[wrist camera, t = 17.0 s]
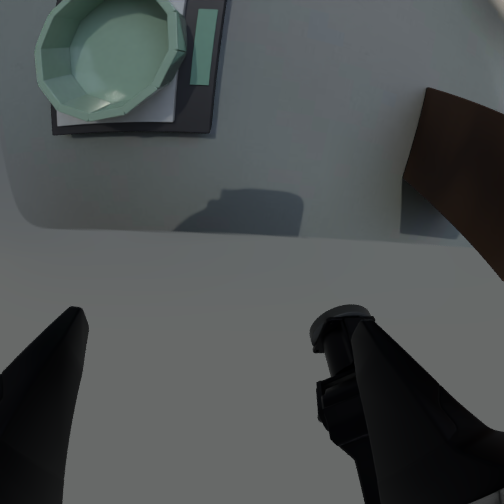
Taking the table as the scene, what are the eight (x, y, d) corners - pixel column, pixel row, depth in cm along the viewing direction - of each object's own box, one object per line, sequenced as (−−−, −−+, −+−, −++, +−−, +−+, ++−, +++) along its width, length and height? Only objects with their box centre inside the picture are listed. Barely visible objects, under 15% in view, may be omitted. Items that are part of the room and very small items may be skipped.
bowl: (213, 56, 13) (209, 54, 10) (111, 130, 14) (86, 149, 12) (145, -32, 9) (125, -51, 6) (49, 49, 11) (14, 52, 8)
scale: (211, 125, 18) (209, 136, 15) (67, 126, 16) (47, 138, 14) (230, -23, 12) (231, -36, 10) (74, -11, 10) (54, -17, 8)
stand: (464, 193, 22) (552, 280, 12) (402, 178, 21) (502, 282, 11) (488, 117, 17) (597, 182, 8) (426, 86, 16) (562, 144, 7)
